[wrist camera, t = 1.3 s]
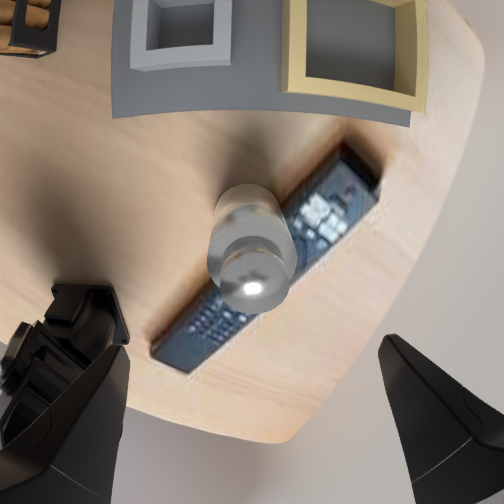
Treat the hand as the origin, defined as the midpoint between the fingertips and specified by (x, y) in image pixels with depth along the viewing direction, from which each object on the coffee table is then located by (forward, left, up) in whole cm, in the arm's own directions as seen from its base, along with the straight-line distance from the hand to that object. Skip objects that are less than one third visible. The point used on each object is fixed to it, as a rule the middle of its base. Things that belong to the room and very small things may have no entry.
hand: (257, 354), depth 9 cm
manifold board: (+12, -1, -12) cm, 17 cm away
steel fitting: (0, 0, -12) cm, 12 cm away
